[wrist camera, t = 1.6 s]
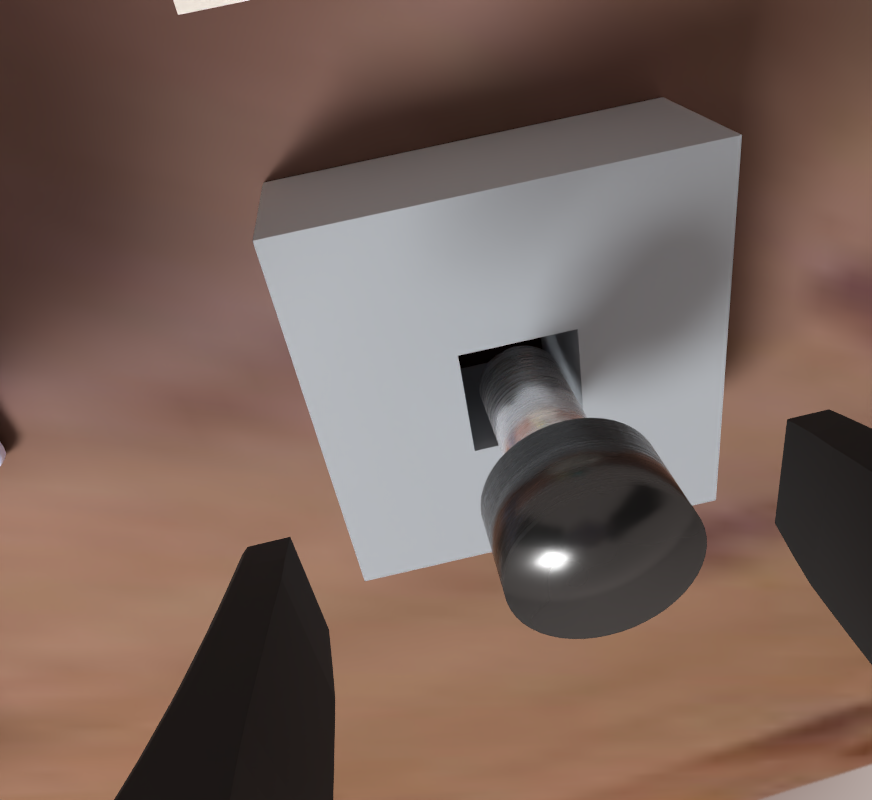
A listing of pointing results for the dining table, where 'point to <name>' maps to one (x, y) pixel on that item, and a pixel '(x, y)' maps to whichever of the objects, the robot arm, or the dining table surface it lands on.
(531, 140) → the grey block
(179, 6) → the cream block
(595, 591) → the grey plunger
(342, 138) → the dining table surface
